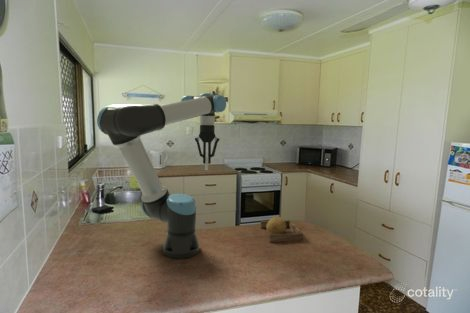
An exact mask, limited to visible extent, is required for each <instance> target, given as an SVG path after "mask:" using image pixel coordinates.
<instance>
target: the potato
mask: <svg viewBox="0 0 470 313" xmlns="http://www.w3.org/2000/svg"><path fill="white" fill-rule="evenodd" d="M284 220H285V219H283V218H282V217H281V216H274V217H271V218H270V219H269V220H267V221H268V223H267V225H266V228H265V229H266V230H267V232H268V233H269V235H270V234H285V231H286V229H287V227H286V223H285V221H284Z"/></svg>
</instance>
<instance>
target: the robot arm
mask: <svg viewBox="0 0 470 313" xmlns="http://www.w3.org/2000/svg"><path fill="white" fill-rule="evenodd" d="M226 108H227V100H226V98H225V97H224V96H223V95H222V94H214V93H201V94H199V95H184V96H182V98H181V100H180V101H177V102H172V103H171V102H170V103H166V104H161V105H160V104H159V103H152V104H151V103H150V104H134V103H126V104H124V103H123V104H121V103H119V104H118V103H113V104H110V105H105V106H104V107H103V108H101V110H100V111H99V112H98V114H97V117H96V118H97V119H96V123H97V127H98V129H99V130H100V131H101V133H103V134H105V135H107V136H108V138H109V140H110V141H111V143H112V145H113V146H117V147H118V148H119V150H120V151H121V154H122V156H123V157H124V159H125V161H126V163H127V165H128V168H129V170H130V172H131V173H132V176H133V177H134V179H135V181H136V183H137V185H138V187H139V190H140V192H141V193H142V194H141V198H140V199H141V203H140V206H141V210H142V213H144V214H145V215H146V216H147V217H149V219H154V220H156V221H159V222H161V223H162V222H163V223H165V224H166V225H167V226H166V227H167V231H166V232H167V234H166V238H165V240H164V243H163V246H162V253H163V254H164V255H165V256H166V257H167V258H170V259H177V260H178V259H180V260H181V259H187V258H189V259H190V258H191V257H194V256H196V255H197V254H198V253H199V252H200V242H199V238H198V237H197V233H196V217H197V216H196V215H197V206H196V200H195V198H194V197H192V196H191V195H189V194H185V193H183V194H182V193H173V194H170V192H169V190H168V188H167V186H166V185H164V184H162V183H161V181H160V178H159V176H158V174H157V172H156V170H155V168H154V166H153V163H152V160H151V159H150V157H149V155H148V152H147V150H146V148H145V146H144V144H143V142H142V140H141V136H144V135H146V134H149V133H153V132H155V131H160V130H163V129H164V128H165V127H166V126H167V125H171V124H175V123H178V122H183V121H186V120H189V119H194V118H197V117H199V123H200V125H199V134H198V136H197V137H195V138H194V140H195V142H196V144H197V149H198V154H199V156H200V157H201V158H202V163H203V164H204V167H205V168H204V170H205V171H209V164H211V163H212V162H211V160H212V159H211V158H212V157H214V156H215V154H216V151H217V146H218V143H219V142H220V138H219V137H217V136H216V134H215V128H216V127H215V124H216V123H215V121H216V119H215V118H216V114H215V113H223V112H224V111H225V110H226ZM200 140H201V142H202V145H203V146H202V148H201V143H200ZM213 141H214V144H213V147H212V142H213ZM202 151H203V152H202ZM211 151H212V152H211ZM206 154H207V156H206Z"/></svg>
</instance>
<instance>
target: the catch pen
mask: <svg viewBox="0 0 470 313" xmlns="http://www.w3.org/2000/svg"><path fill="white" fill-rule="evenodd" d="M283 220H284V221H285V223H286V228H288V229H289V230H290V232H292V233H283V234H270V233H269V238H268V242H269V241H270V242H269V243H282V242H281V241H289V242H303V241H304V233H303V232H302V231H301V230H300V228H298V227H297V226H296V225H295V224H294V222H292V221H291V220H290V219H289V220H285V219H283ZM268 221H269V220H261V221H260V229H267V228H266V225H267V223H268Z"/></svg>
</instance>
